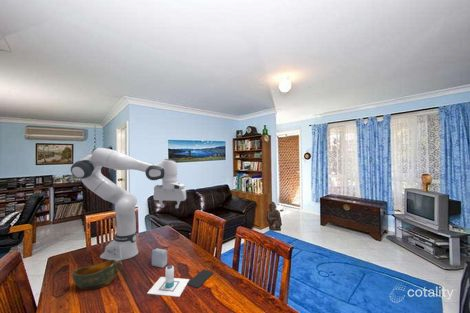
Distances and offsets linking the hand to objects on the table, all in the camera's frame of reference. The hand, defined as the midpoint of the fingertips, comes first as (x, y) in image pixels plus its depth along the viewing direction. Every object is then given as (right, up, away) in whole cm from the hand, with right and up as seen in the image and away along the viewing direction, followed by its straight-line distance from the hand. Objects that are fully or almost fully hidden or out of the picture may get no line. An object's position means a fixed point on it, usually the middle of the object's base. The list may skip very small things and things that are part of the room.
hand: (169, 207), depth 124 cm
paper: (+8, -33, -24) cm, 42 cm away
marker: (+8, -33, -24) cm, 41 cm away
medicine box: (-5, -33, -4) cm, 34 cm away
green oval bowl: (-29, -33, -22) cm, 50 cm away
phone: (+22, -34, -18) cm, 44 cm away
